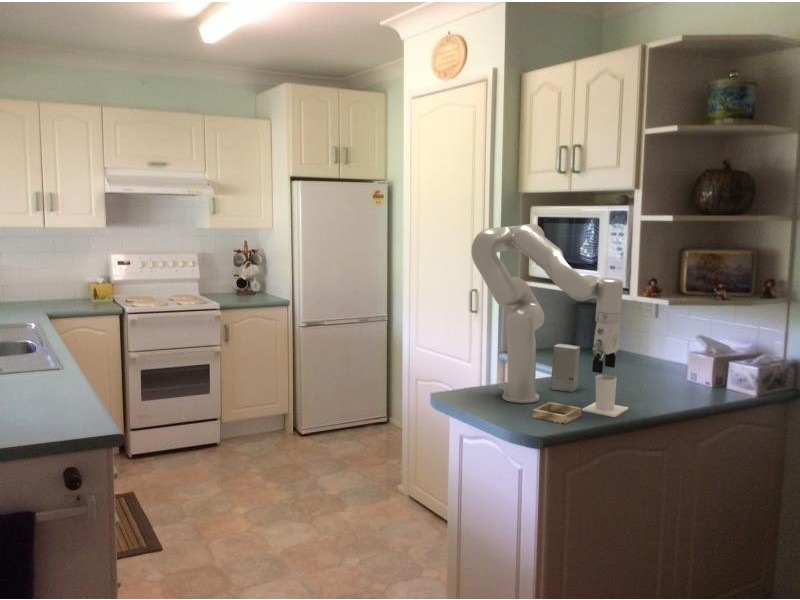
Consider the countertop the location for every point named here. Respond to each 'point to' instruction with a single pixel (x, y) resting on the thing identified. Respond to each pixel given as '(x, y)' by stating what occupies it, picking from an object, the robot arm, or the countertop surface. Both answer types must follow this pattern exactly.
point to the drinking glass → (605, 391)
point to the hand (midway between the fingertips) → (603, 369)
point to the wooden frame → (569, 411)
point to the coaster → (612, 413)
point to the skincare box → (565, 367)
